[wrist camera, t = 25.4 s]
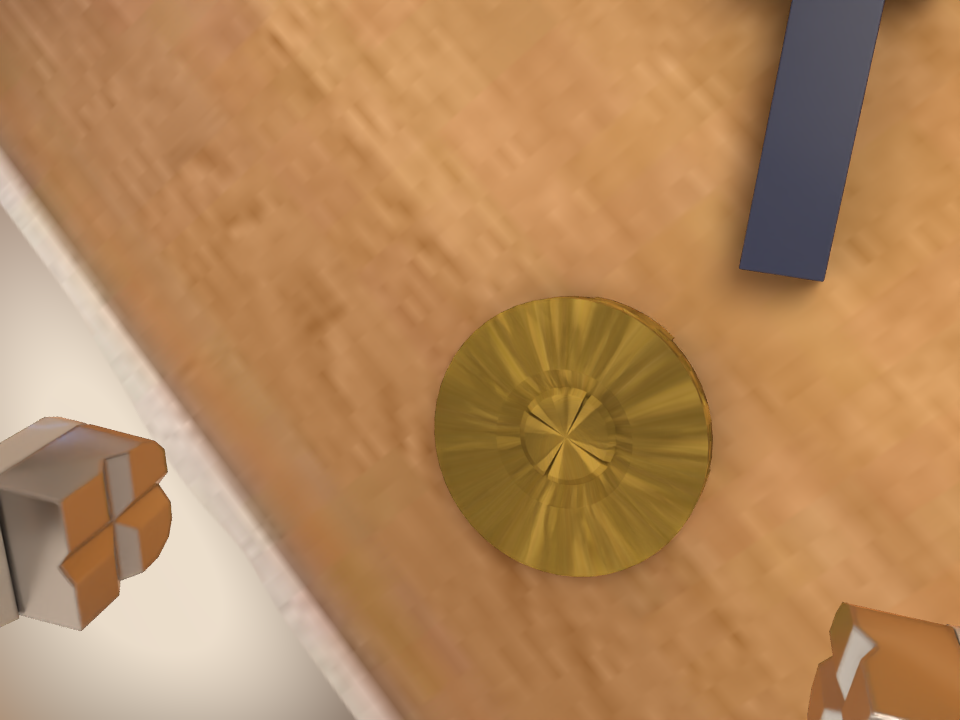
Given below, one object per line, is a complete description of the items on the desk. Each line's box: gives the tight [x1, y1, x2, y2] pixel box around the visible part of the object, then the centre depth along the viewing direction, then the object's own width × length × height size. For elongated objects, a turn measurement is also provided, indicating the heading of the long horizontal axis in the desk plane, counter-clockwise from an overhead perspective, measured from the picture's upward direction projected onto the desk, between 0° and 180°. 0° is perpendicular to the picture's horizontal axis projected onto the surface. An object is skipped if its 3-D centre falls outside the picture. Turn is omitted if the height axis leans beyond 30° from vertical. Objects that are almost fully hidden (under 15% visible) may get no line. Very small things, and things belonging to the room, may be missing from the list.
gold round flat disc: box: [434, 296, 713, 577], centre depth 35 cm, size 12×12×2 cm
